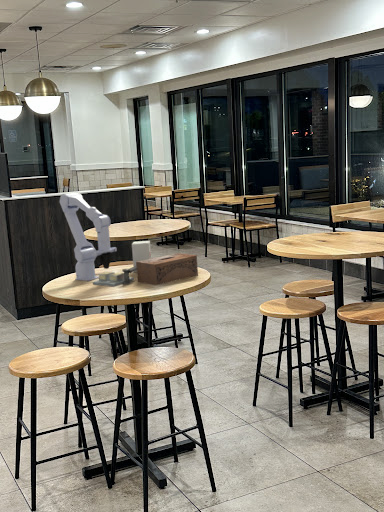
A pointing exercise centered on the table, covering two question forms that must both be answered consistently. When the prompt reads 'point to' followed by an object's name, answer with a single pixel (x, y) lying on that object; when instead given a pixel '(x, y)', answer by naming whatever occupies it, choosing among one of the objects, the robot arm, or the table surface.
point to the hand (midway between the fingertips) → (106, 268)
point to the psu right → (116, 277)
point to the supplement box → (141, 251)
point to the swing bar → (130, 269)
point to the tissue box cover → (166, 268)
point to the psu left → (105, 276)
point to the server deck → (110, 283)
